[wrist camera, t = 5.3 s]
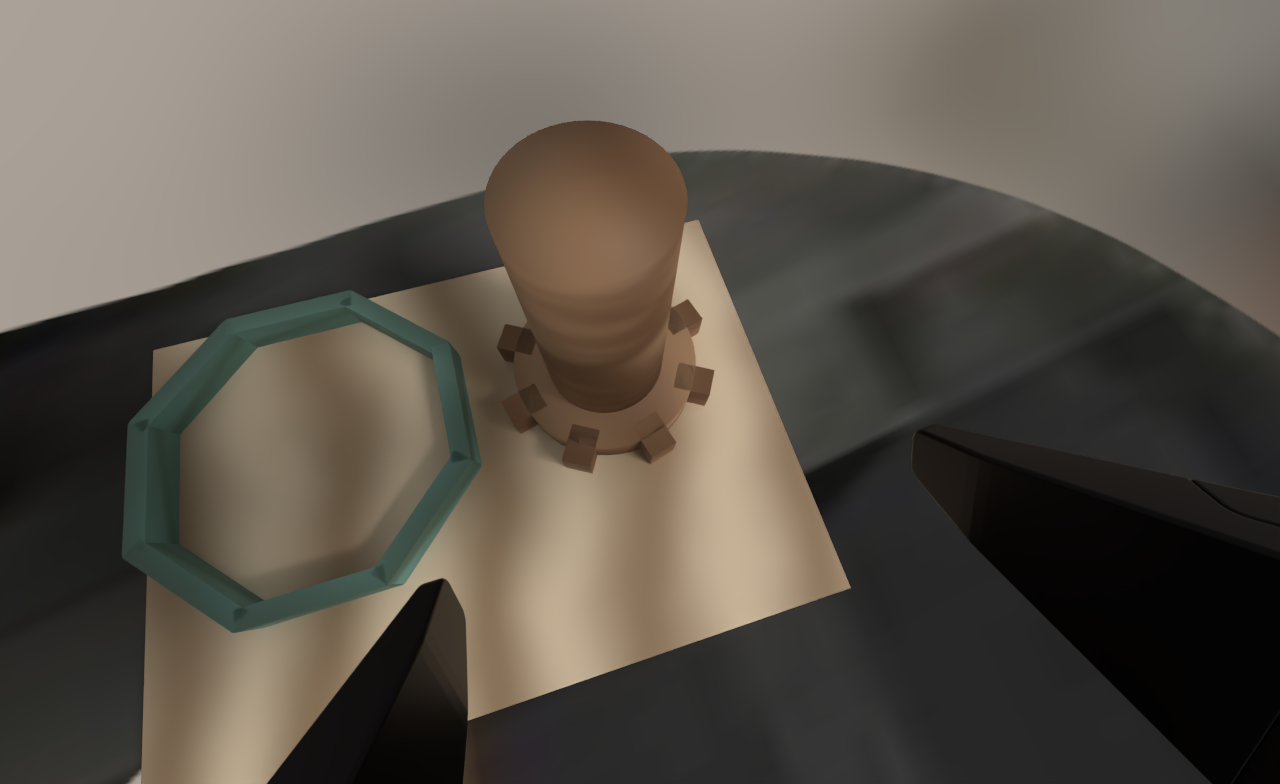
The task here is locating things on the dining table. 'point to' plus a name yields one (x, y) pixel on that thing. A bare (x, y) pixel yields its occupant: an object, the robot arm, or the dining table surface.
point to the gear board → (499, 549)
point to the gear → (595, 290)
